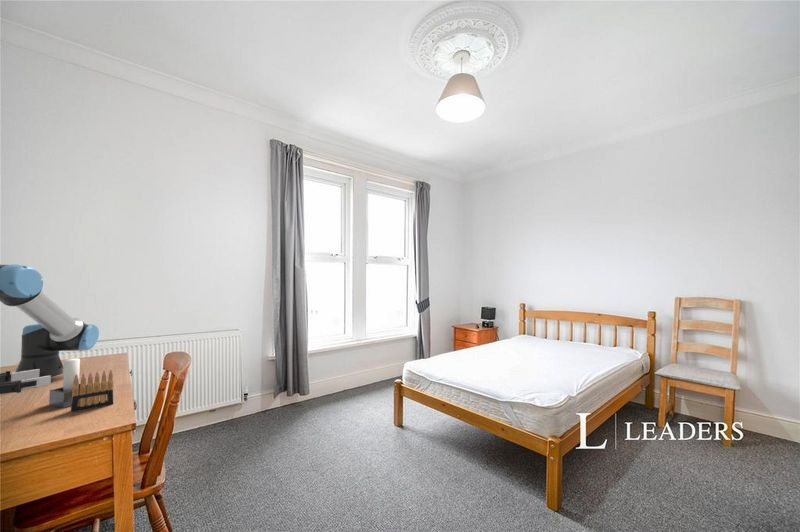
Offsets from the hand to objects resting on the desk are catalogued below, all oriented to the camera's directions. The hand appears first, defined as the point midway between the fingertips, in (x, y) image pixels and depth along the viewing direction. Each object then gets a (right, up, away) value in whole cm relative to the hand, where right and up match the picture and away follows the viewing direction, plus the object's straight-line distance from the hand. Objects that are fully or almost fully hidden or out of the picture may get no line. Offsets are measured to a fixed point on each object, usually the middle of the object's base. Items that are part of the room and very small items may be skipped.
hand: (44, 376), depth 114 cm
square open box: (+3, -11, +6) cm, 13 cm away
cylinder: (+3, -10, +5) cm, 12 cm away
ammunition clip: (+15, -11, +2) cm, 19 cm away
